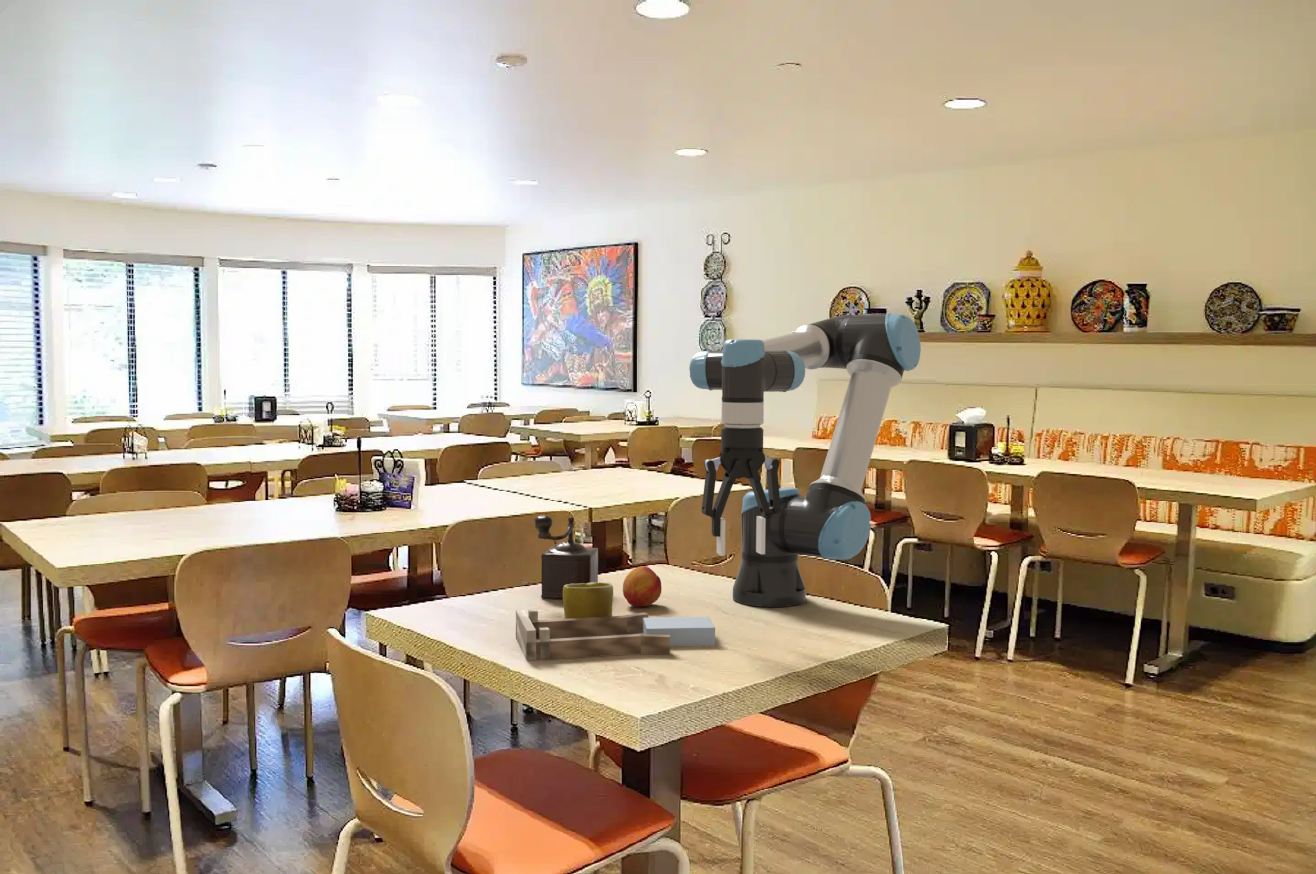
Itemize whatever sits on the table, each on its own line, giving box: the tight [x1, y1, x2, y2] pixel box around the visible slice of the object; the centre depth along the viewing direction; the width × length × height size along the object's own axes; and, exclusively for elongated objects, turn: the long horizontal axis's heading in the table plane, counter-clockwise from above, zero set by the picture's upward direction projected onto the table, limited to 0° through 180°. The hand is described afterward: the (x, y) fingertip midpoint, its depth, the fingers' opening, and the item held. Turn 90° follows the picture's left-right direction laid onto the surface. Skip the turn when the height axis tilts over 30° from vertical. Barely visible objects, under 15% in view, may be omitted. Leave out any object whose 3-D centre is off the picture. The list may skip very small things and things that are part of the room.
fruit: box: [622, 565, 663, 608], centre depth 221 cm, size 8×8×8 cm
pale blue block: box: [642, 616, 716, 647], centre depth 195 cm, size 12×8×4 cm, turn 95°
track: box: [515, 608, 671, 661], centre depth 191 cm, size 24×18×5 cm
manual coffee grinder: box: [533, 514, 599, 601], centre depth 228 cm, size 16×11×18 cm
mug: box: [562, 582, 614, 619], centre depth 204 cm, size 12×10×10 cm
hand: (740, 553), depth 197 cm, fingers open, 7 cm apart
